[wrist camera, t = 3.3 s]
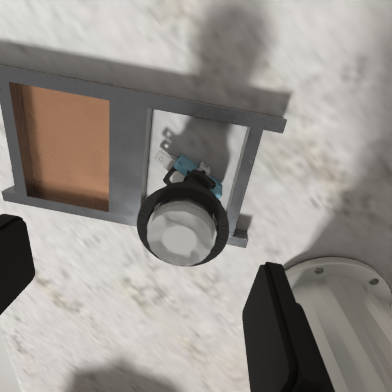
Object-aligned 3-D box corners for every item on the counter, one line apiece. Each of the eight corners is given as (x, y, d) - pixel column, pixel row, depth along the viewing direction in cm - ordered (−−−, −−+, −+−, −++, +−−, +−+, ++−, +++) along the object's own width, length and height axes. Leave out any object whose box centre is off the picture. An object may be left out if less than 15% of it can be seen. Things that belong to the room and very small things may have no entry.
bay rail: (282, 117, 19) (287, 119, 17) (244, 238, 24) (245, 247, 23) (-9, 62, 19) (-26, 61, 18) (15, 194, 24) (3, 200, 23)
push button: (145, 171, 22) (92, 230, 13) (178, 124, 20) (143, 156, 11) (201, 212, 23) (189, 292, 14) (238, 172, 21) (251, 236, 12)
